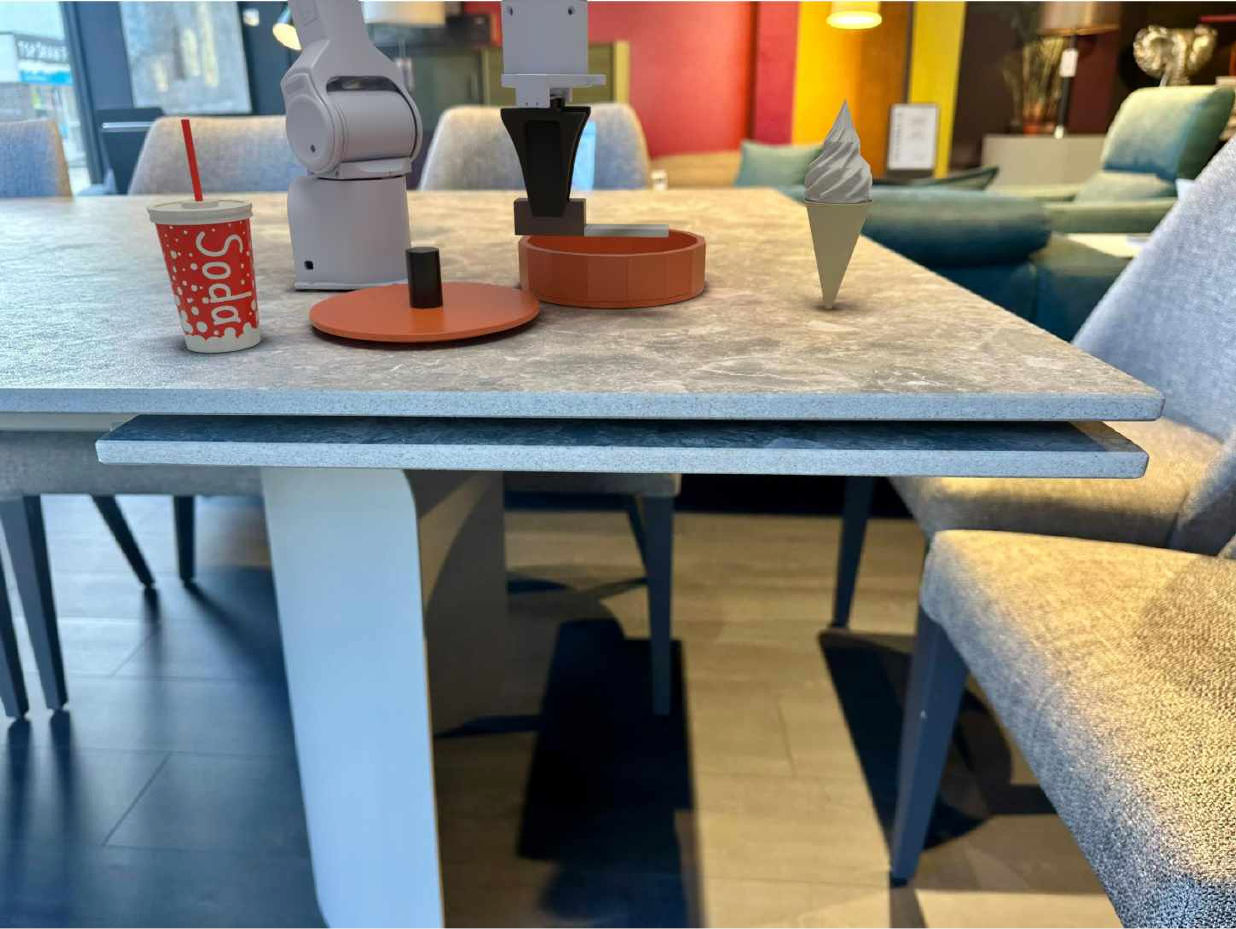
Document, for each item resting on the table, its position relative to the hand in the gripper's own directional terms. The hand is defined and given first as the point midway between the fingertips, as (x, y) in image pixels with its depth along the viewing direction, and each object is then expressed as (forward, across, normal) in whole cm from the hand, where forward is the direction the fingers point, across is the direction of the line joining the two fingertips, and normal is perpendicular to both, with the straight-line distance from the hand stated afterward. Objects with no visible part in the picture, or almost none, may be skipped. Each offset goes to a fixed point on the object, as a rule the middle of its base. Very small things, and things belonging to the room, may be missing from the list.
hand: (550, 213), depth 65 cm
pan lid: (+7, -2, +9) cm, 11 cm away
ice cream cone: (+8, +3, -21) cm, 23 cm away
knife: (+1, 0, -3) cm, 3 cm away
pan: (+7, +10, -4) cm, 13 cm away
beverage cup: (+8, -9, +21) cm, 24 cm away
